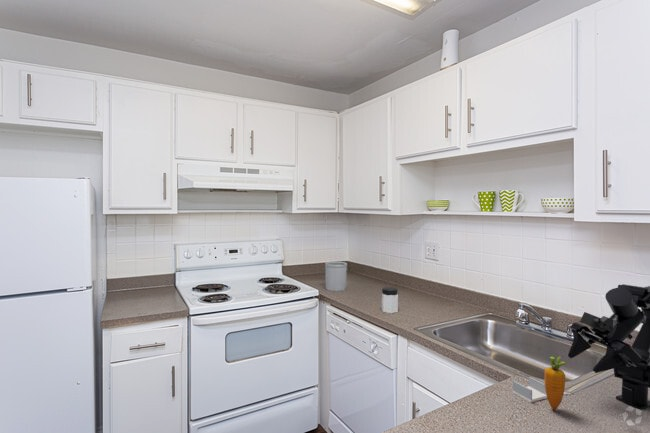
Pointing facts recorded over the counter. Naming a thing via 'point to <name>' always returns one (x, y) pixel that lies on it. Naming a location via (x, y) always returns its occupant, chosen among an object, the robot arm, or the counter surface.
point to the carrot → (554, 383)
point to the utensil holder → (336, 276)
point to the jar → (389, 300)
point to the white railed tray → (530, 390)
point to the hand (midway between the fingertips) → (581, 364)
